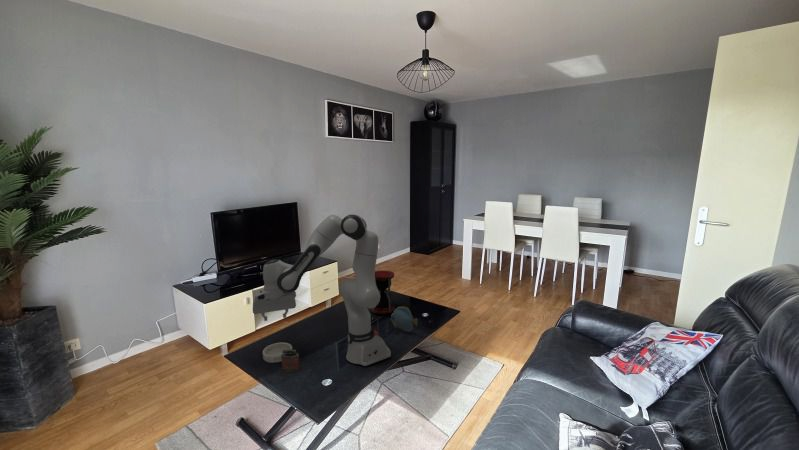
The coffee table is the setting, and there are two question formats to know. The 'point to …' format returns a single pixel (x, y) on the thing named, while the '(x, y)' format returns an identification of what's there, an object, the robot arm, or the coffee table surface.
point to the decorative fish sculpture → (403, 318)
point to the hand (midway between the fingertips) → (275, 318)
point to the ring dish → (275, 352)
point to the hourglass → (382, 284)
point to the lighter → (290, 360)
